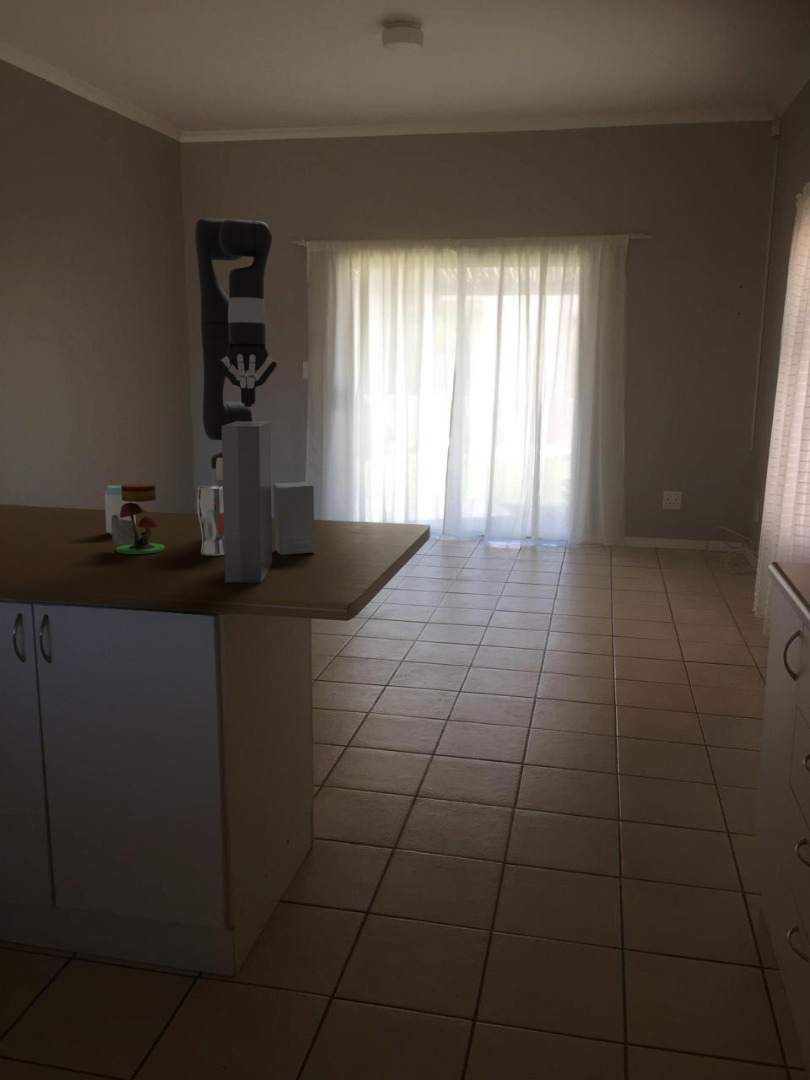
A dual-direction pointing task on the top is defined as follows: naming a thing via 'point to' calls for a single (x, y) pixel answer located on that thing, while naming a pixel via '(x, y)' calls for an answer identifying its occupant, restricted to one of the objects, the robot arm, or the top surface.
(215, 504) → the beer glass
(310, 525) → the skincare box
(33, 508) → the top surface
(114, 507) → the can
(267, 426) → the tall grey block
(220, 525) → the red button
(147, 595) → the top surface
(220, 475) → the white cylinder
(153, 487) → the mushroom figurine
